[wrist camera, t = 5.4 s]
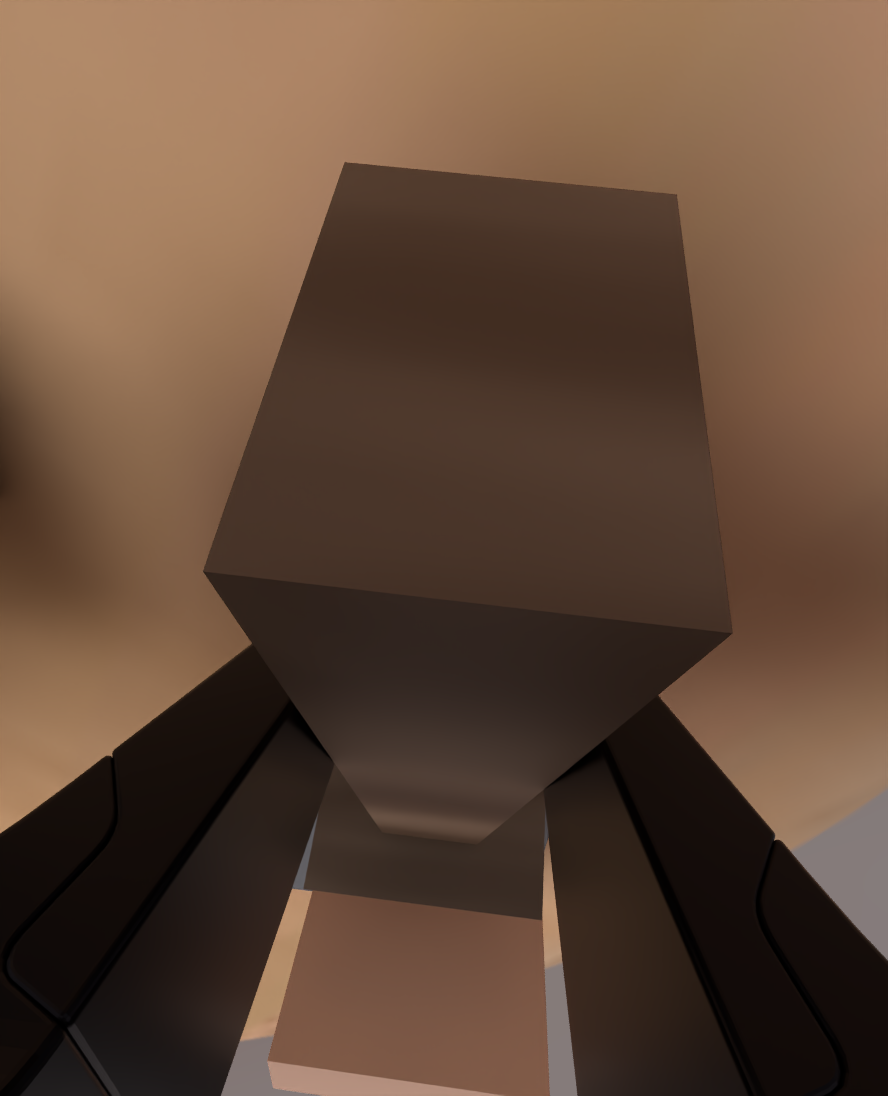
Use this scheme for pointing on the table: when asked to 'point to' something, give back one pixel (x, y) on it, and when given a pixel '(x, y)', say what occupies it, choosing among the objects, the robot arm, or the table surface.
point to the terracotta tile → (412, 1003)
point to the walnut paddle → (474, 516)
